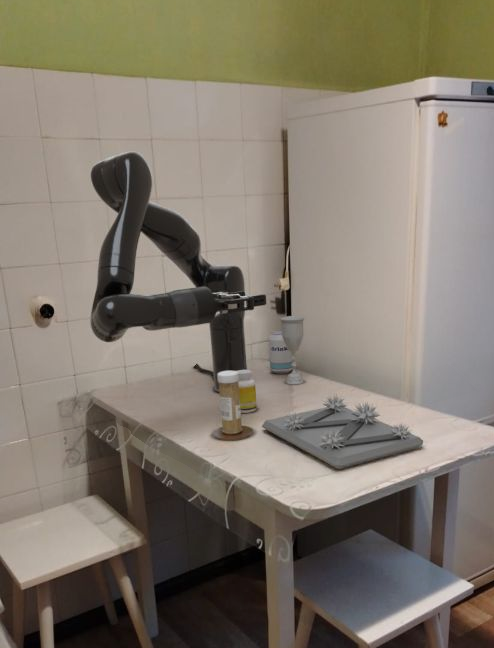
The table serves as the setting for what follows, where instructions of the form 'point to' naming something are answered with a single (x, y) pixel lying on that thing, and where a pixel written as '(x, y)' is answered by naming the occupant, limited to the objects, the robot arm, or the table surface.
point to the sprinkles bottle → (230, 402)
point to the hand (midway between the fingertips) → (254, 297)
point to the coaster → (244, 434)
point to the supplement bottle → (247, 391)
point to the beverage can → (279, 354)
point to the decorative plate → (343, 434)
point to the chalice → (293, 342)
